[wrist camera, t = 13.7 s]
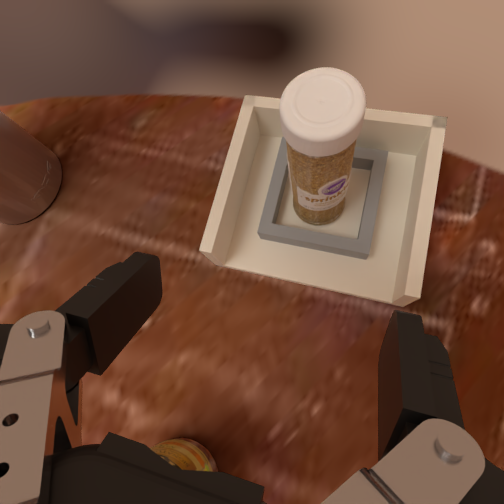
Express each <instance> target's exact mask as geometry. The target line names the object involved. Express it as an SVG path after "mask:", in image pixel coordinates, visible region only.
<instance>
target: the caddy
mask: <svg viewBox="0 0 504 504" xmlns="http://www.w3.org/2000/svg"><path fill="white" fill-rule="evenodd" d="M279 105H280V99H278V98H269V97H260V96H251V95H245V97H244V100H243V104H242V107H241V110H240V114H239V117H238V121H237V124H236V127H235V131H234V134H233V137H232V141H231V144H230V148H229V151H228V154H227V158H226V161H225V164H224V168H223V171H222V174H221V178H220V181H219V185H218V188H217V191H216V195H215V198H214V201H213V205H212V208H211V212H210V215H209V218H208V222H207V225H206V228H205V232H204V235H203V239H202V242H201V245H200V249H199V251H200V252H201V253H202V254H204V255H205V256H206V257H207V258H208V259H209V260H210V261H212V262H213V263H214V264H215V265H217V266H221V267H226V268H230V269H235V270H239V271H244V272H248V273H253V274H257V275H262V276H266V277H271V278H275V279H280V280H284V281H289V282H293V283H298V284H302V285H307V286H311V287H316V288H320V289H324V290H329V291H333V292H338V293H342V294H347V295H351V296H356V297H360V298H365V299H369V300H374V301H378V302H383V303H387V304H392V305H396V306H401V307H404V306H406V305H408V304H410V303H412V302H414V301H416V300H418V299H420V296H421V289H422V283H423V276H424V269H425V263H426V256H427V250H428V243H429V236H430V230H431V223H432V216H433V210H434V203H435V197H436V190H437V183H438V177H439V170H440V164H441V157H442V150H443V144H444V137H445V130H446V123H447V117H441V116H432V115H423V114H414V113H405V112H396V111H387V110H377V109H369V108H366V111H365V116H364V121H363V126H362V129H361V132H360V134H359V136H358V137H357V139H356V145H355V151H354V156H353V162H352V171H351V176H350V180H349V185H348V190H347V193H346V196H345V207H344V209H343V212H342V213H341V215H340V216H339V217H338V218H337V219H336V220H335V221H333V222H331V223H329V224H325V225H312V224H309V223H306V222H304V221H303V220H301V219H300V218H299V217H298V216H297V215H296V213H295V211H294V208H293V194H292V191H291V185H290V178H289V170H288V163H287V144H286V139H285V138H284V136H283V133H282V129H281V123H280V112H279Z"/></svg>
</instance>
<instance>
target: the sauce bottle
mask: <svg viewBox="0 0 504 504" xmlns="http://www.w3.org/2000/svg"><path fill="white" fill-rule="evenodd" d="M150 449H151V450H152V451H154V452H155V453H156V454H158V455H159V456H160V457H162V458H163V459H164V460H166V461H167V462H168V463H170V464H171V465H172V466H174V467H175V468H177V469H182V470H196V471H212V472H218V468H217V466H216V462H215V460H214V458H213V456H212V455H211V453H210V452H209V451H208V450H207V449H206V448H205V447H204V446H203V445H201V444H199V443H198V442H196V441H194V440H192V439H185V438H182V437H181V438H176V439H172V440H166V441H163V442H161V443H158V444H157V445H155V446H153V447H151V448H150Z"/></svg>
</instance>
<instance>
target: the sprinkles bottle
mask: <svg viewBox="0 0 504 504" xmlns="http://www.w3.org/2000/svg"><path fill="white" fill-rule="evenodd" d="M365 111H366V96H365V92H364V90H363V88H362V86H361V84H360V82H359V81H358V80H357V79H356V78H355V77H353V76H352V75H351V74H349V73H347V72H345V71H343V70H340V69H336V68H330V67H323V68H315V69H312V70H309V71H306V72H304V73H302V74H300V75H298V76H297V77H296V78H294V79H293V80H292V81H291V82H290V83H289V84H288V85H287V87H286V88H285V90H284V92H283V94H282V96H281V99H280V105H279V112H280V123H281V129H282V133H283V136H284V138H285V139H286V144H287V163H288V170H289V178H290V185H291V191H292V194H293V208H294V211H295V213H296V215H297V216H298V217H299V218H300V219H301V220H303V221H304V222H306V223H309V224H312V225H325V224H329V223H331V222H333V221H335V220H336V219H337V218H338V217H339V216H340V215H341V213H342V212H343V209H344V207H345V196H346V193H347V190H348V185H349V180H350V176H351V171H352V162H353V156H354V151H355V145H356V139H357V137H358V136H359V134H360V132H361V129H362V126H363V121H364V116H365Z"/></svg>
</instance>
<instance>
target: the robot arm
mask: <svg viewBox="0 0 504 504" xmlns="http://www.w3.org/2000/svg"><path fill="white" fill-rule="evenodd" d="M61 179H62V170H61V164H60V162H59V159H58V157H57V156H56V155H55V153H54V152H52V151H51V150H50V149H49V148H47V147H46V146H45V145H43V144H42V143H41V142H40V141H38V140H37V139H36V138H34V137H33V136H32V135H31V134H29V133H28V132H27V131H25V130H24V129H23V128H22V127H20V126H19V125H18V124H17V123H15V122H14V121H13V120H11V119H10V118H9V117H7V116H6V115H5V114H3V113H2V112H1V111H0V222H1V223H5V224H20V223H24V222H27V221H29V220H32V219H34V218H35V217H37V216H38V215H40V214H41V213H42V212H43V211H44V210H45V209H47V208H48V207H49V205H50V204H51V203H52V201H53V200H54V199H55V197H56V195H57V193H58V191H59V187H60V184H61ZM161 298H162V282H161V270H160V261H159V258H158V257H157V256H155V255H150V254H146V253H141V252H135V253H133V254H132V255H131V256H130V257H129V258H128V259H126V260H125V261H124V262H123V263H122V262H119V263H117V264H115V265H112V266H110V267H108V268H106V269H105V270H103V271H102V272H101V273H100V274H99V275H97V276H96V278H95V279H93V280H91V281H90V282H89V283H88V284H87V286H84V287H83V288H82V289H81V290H79V291H78V292H77V293H76V294H75V295H74V296H72V297H71V298H70V299H69V300H68V301H66V302H65V303H64V304H63V305H62V306H60V307H59V308H58V309H57V310H56V311H39V312H35V313H32V314H29V315H27V316H25V317H23V318H22V319H20V320H19V321H17V322H16V323H15V324H0V504H266V503H265V502H264V501H262V500H263V493H264V486H261V485H258V484H255V483H252V482H249V481H247V480H244V479H241V478H238V477H235V476H232V475H230V474H227V473H224V472H212V471H196V470H182V469H177V468H175V467H174V466H172V465H171V464H170V463H168V462H167V461H166V460H164V459H163V458H162V457H160V456H159V455H158V454H156V453H155V452H154V451H152V450H151V449H150V448H148V447H147V446H146V445H144V444H142V443H139V442H136V441H133V440H130V439H127V438H125V437H122V436H119V435H116V434H113V433H110V432H109V433H108V434H107V436H106V437H105V438H104V440H103V441H102V443H101V444H91V445H83V446H82V438H81V423H82V387H83V384H82V379H81V378H82V377H83V376H84V374H85V373H86V372H91V373H94V374H97V375H100V376H101V375H102V374H103V372H104V371H105V370H106V369H107V368H108V366H109V365H110V364H111V363H112V362H113V360H114V359H115V358H116V357H117V356H118V354H119V353H120V352H121V351H122V350H123V348H124V347H125V346H126V345H127V344H128V342H129V341H130V340H131V339H132V337H133V336H134V335H135V334H136V333H137V331H138V330H139V329H140V328H141V327H142V325H143V324H144V323H145V322H146V321H147V319H148V318H149V317H150V316H151V315H152V313H153V312H154V311H155V310H156V309H157V307H158V306H159V304H160V301H161ZM321 504H504V471H503V470H501V469H500V468H498V467H496V466H495V465H493V464H492V463H491V462H489V461H488V460H487V459H486V458H485V457H484V455H483V453H482V450H481V449H480V447H479V445H478V444H477V442H476V441H475V440H474V439H473V438H472V436H471V435H470V434H468V433H467V432H466V431H465V428H464V424H463V420H462V415H461V411H460V406H459V402H458V397H457V393H456V388H455V384H454V381H453V375H452V370H451V368H450V361H449V357H448V352H447V350H446V349H445V347H444V346H443V344H442V343H441V342H440V340H439V339H438V337H437V336H432V335H428V334H424V329H423V323H422V317H421V316H420V315H416V314H411V313H407V312H403V311H398V310H394V312H393V314H392V317H391V320H390V322H389V325H388V328H387V331H386V334H385V337H384V340H383V343H382V346H381V350H380V355H379V363H378V463H377V464H376V465H375V466H374V467H372V468H371V469H369V470H368V469H367V468H362V469H360V470H359V471H357V472H356V473H355V474H354V475H352V476H351V477H350V478H349V479H348V480H347V481H346V482H345V483H343V484H342V485H341V486H340V487H339V488H338V489H337V490H336V491H334V492H333V493H332V494H331V495H330V496H329V497H328V498H327V499H325V500H324V501H323V502H322V503H321Z"/></svg>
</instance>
